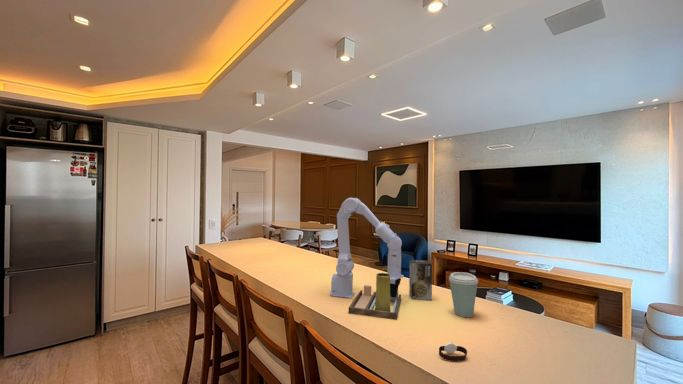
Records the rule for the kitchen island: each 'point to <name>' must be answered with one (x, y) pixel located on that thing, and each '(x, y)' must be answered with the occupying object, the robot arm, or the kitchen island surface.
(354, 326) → the kitchen island surface
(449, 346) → the watch
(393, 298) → the tray
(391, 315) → the lane rack
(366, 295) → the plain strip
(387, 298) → the vase
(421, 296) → the coffee box
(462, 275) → the disposable coffee cup
